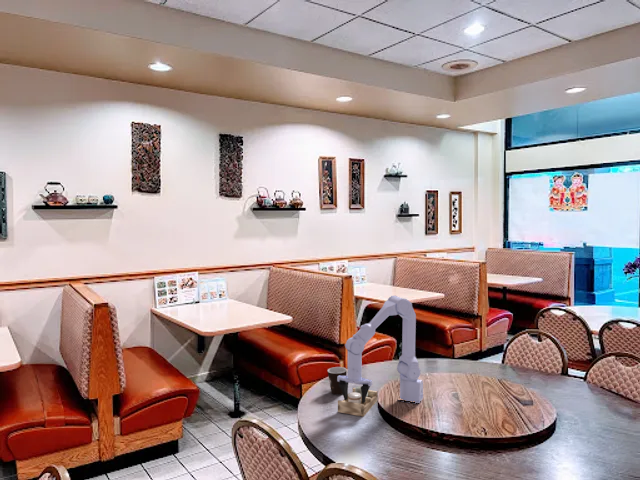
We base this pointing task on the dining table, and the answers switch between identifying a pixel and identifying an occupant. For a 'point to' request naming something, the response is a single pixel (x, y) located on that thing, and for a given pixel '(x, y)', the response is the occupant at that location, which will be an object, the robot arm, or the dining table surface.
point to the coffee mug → (333, 375)
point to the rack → (358, 408)
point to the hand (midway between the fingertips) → (354, 400)
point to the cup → (354, 397)
